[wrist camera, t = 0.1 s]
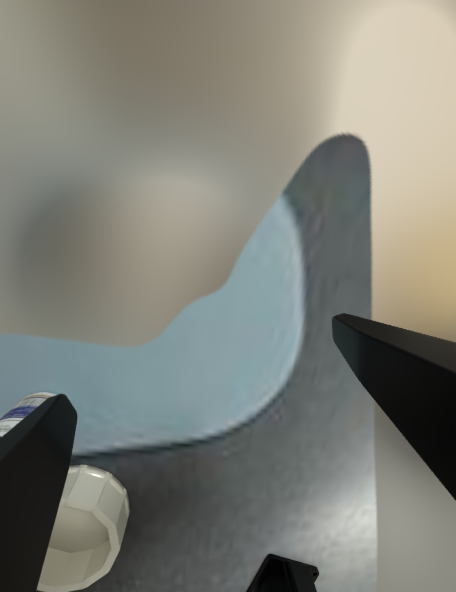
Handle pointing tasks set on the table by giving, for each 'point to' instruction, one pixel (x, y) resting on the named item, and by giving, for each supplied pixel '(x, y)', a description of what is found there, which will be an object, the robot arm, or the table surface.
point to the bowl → (85, 530)
